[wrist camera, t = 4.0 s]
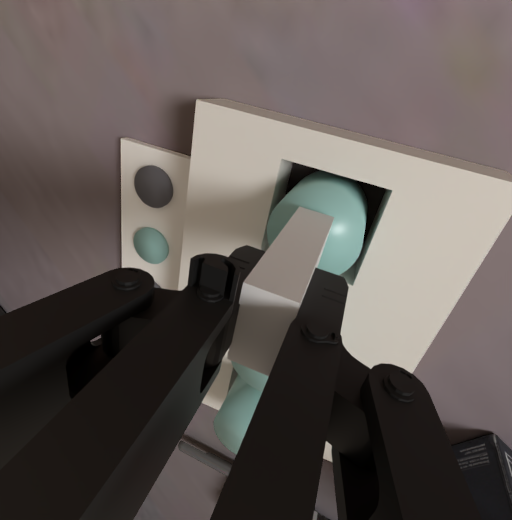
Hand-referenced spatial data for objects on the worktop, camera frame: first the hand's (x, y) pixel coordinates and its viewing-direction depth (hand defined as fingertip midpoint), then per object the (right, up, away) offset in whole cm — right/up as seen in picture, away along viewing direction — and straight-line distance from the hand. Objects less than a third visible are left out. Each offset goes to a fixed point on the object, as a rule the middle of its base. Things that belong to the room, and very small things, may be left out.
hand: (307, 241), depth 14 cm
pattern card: (-9, 0, +9) cm, 13 cm away
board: (+1, -3, +7) cm, 8 cm away
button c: (+2, +2, +4) cm, 4 cm away
